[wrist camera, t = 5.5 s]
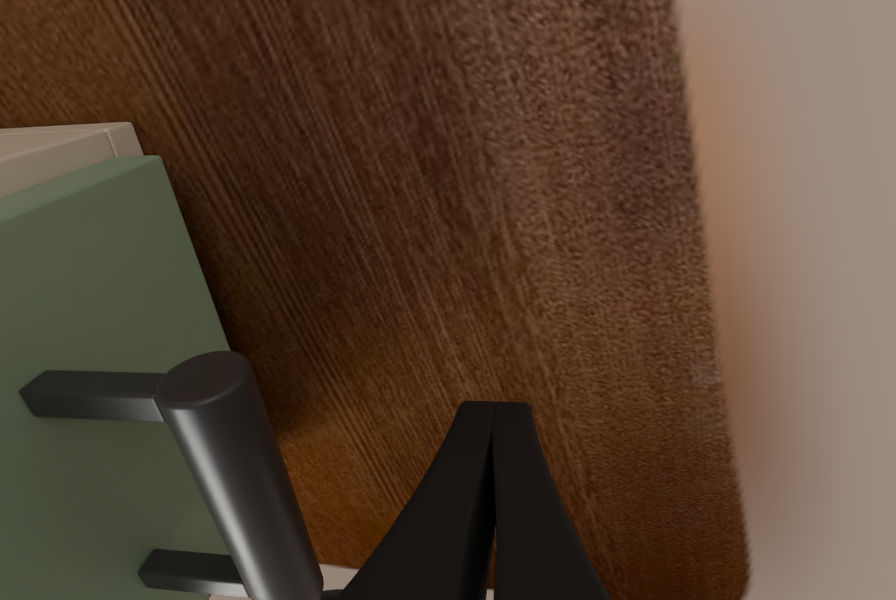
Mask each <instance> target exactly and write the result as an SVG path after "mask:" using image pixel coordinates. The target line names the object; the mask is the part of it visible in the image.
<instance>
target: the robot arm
mask: <svg viewBox="0 0 896 600" xmlns="http://www.w3.org/2000/svg"><path fill="white" fill-rule="evenodd" d="M495 526H496V536H497V551H496V567H495V583H494V600H612V599H611V597H610V596H609V594H608V592H607V590H606V589H605V587H604V585H603V583H602V581H601V580H600V578H599V576H598V574H597V572H596V571H595V569H594V567H593V565H592V563H591V561H590V559H589V557H588V555H587V553H586V552H585V550H584V548H583V546H582V544H581V542H580V540H579V537H578V535H577V533H576V531H575V529H574V527H573V525H572V523H571V521H570V519H569V517H568V514H567V512H566V510H565V508H564V506H563V503H562V501H561V499H560V496H559V494H558V491H557V489H556V487H555V484H554V482H553V479H552V477H551V474H550V472H549V469H548V467H547V464H546V461H545V459H544V456H543V453H542V450H541V446H540V443H539V440H538V437H537V433H536V429H535V425H534V421H533V415H532V407H531V406H529V405H528V404H527V403H524V402H490V401H464V402H463V403H461V404H460V405H459V408H458V410H457V413H456V415H455V418H454V420H453V422H452V425H451V427H450V429H449V431H448V433H447V435H446V437H445V439H444V441H443V443H442V445H441V447H440V449H439V451H438V452H437V454H436V456H435V458H434V460H433V461H432V463H431V465H430V466H429V468H428V470H427V472H426V473H425V475H424V477H423V479H422V480H421V482H420V484H419V485H418V487H417V489H416V490H415V492H414V493H413V495H412V496H411V498H410V499H409V501H408V503H407V504H406V506H405V507H404V509H403V510H402V512H401V513H400V515H399V516H398V518H397V519H396V521H395V522H394V524H393V525H392V527H391V528H390V530H389V531H388V532H387V534H386V535H385V537H384V538H383V539H382V541H381V542H380V543H379V545H378V546H377V548H376V549H375V550H374V552H373V553H372V554H371V556H370V557H369V558H368V559H367V561H366V562H365V563H364V565H363V566H362V567H361V568H360V570H359V571H358V572H357V574H356V575H355V576H354V578H353V579H352V580H351V581H350V582H349V583H348V585H347V586H346V587H345V588H344V589H343V591H342V592H341V593H340V594H339V595H338V597H337V598H336V599H335V600H486V594H487V586H488V579H489V571H490V564H491V556H492V549H493V541H494V533H495Z"/></svg>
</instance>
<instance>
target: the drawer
mask: <svg viewBox="0 0 896 600" xmlns="http://www.w3.org/2000/svg"><path fill="white" fill-rule="evenodd" d="M323 583H324V582H323V576H322V573H321V570H320V567H319V564H318V561H317V558H316V555H315V552H314V549H313V546H312V543H311V540H310V537H309V534H308V531H307V528H306V525H305V522H304V519H303V517H302V514H301V511H300V508H299V505H298V502H297V499H296V496H295V493H294V490H293V487H292V484H291V481H290V478H289V475H288V472H287V469H286V466H285V463H284V460H283V458H282V455H281V452H280V449H279V446H278V443H277V440H276V437H275V434H274V431H273V428H272V425H271V422H270V419H269V416H268V413H267V410H266V407H265V404H264V401H263V399H262V396H261V393H260V390H259V387H258V384H257V381H256V378H255V375H254V372H253V369H252V366H251V363H250V361H249V360H248V359H247V358H246V357H245V356H243V355H242V354H240V353H238V352H234V351H231V350H230V348H229V345H228V342H227V339H226V337H225V334H224V331H223V328H222V325H221V323H220V320H219V317H218V314H217V311H216V309H215V306H214V303H213V300H212V297H211V295H210V292H209V289H208V286H207V284H206V281H205V278H204V275H203V272H202V270H201V267H200V264H199V261H198V258H197V256H196V253H195V250H194V247H193V244H192V242H191V239H190V236H189V233H188V231H187V228H186V225H185V222H184V219H183V217H182V214H181V211H180V208H179V205H178V203H177V200H176V197H175V194H174V191H173V189H172V186H171V183H170V180H169V178H168V175H167V172H166V169H165V166H164V164H163V161H162V158H161V157H160V156H158V155H145V156H123V157H114V158H111V159H108V160H105V161H103V162H100V163H97V164H94V165H91V166H89V167H86V168H83V169H80V170H77V171H75V172H72V173H69V174H66V175H63V176H61V177H58V178H55V179H52V180H49V181H47V182H44V183H41V184H38V185H35V186H32V187H30V188H27V189H24V190H21V191H18V192H16V193H13V194H10V195H7V196H4V197H2V198H0V600H209V598H210V596H211V594H213V595H223V596H233V597H243V598H251V599H252V600H320V597H321V595H322V591H323Z"/></svg>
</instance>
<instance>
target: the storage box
mask: <svg viewBox="0 0 896 600" xmlns="http://www.w3.org/2000/svg"><path fill="white" fill-rule="evenodd" d="M123 156H144V154H143V151H142V149H141V146H140V143H139V141H138V138H137V135H136V133H135V130H134V127H133V125H132V123H130V122H114V123H96V124H78V125H60V126H43V127H25V128H7V129H0V198H2V197H4V196H7V195H10V194H13V193H16V192H18V191H21V190H24V189H27V188H30V187H32V186H35V185H38V184H41V183H44V182H47V181H49V180H52V179H55V178H58V177H61V176H63V175H66V174H69V173H72V172H75V171H77V170H80V169H83V168H86V167H89V166H91V165H94V164H97V163H100V162H103V161H105V160H108V159H111V158H114V157H123Z"/></svg>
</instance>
